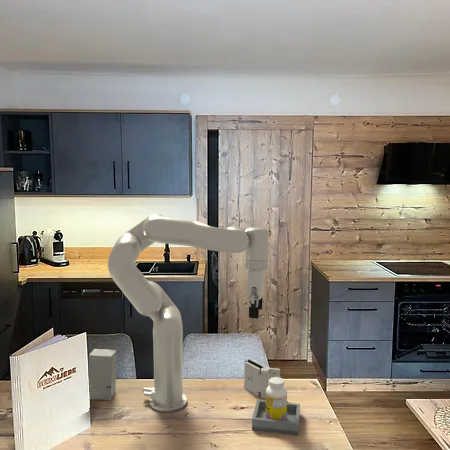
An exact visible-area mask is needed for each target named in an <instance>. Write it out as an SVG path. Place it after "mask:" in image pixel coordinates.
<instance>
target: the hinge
mask: <svg viewBox="0 0 450 450" xmlns="http://www.w3.org/2000/svg"><path fill="white" fill-rule="evenodd" d="M243 368H244V372H243V373H244V377H243V378H244V381H243V386H244V387H243V388H244V389H246V391H248V392H250V393H252V394H254V396H255V395H256V396H257V397H259V396H260V398H262V399H266V389H267V387H268V386H270V384H269V379H270V378H273V377H280V378H281V368H276V367H275V368H274V367H273V368H272V367H267V366H265V365H263V364H262V363H259V362H257V361H256V360H254V359H249V358H248V359H247V360H244V367H243Z"/></svg>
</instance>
